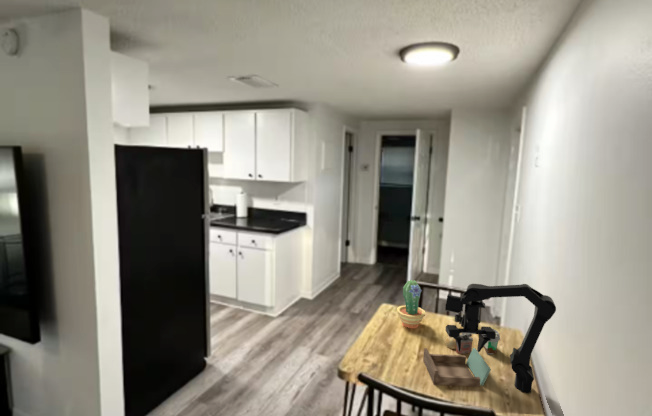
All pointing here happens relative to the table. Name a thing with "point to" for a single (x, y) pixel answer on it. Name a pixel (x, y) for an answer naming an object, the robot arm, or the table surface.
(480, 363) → the tailgate
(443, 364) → the truck bed
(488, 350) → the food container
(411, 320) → the potted cactus
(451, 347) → the onion
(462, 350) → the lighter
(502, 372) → the table surface
